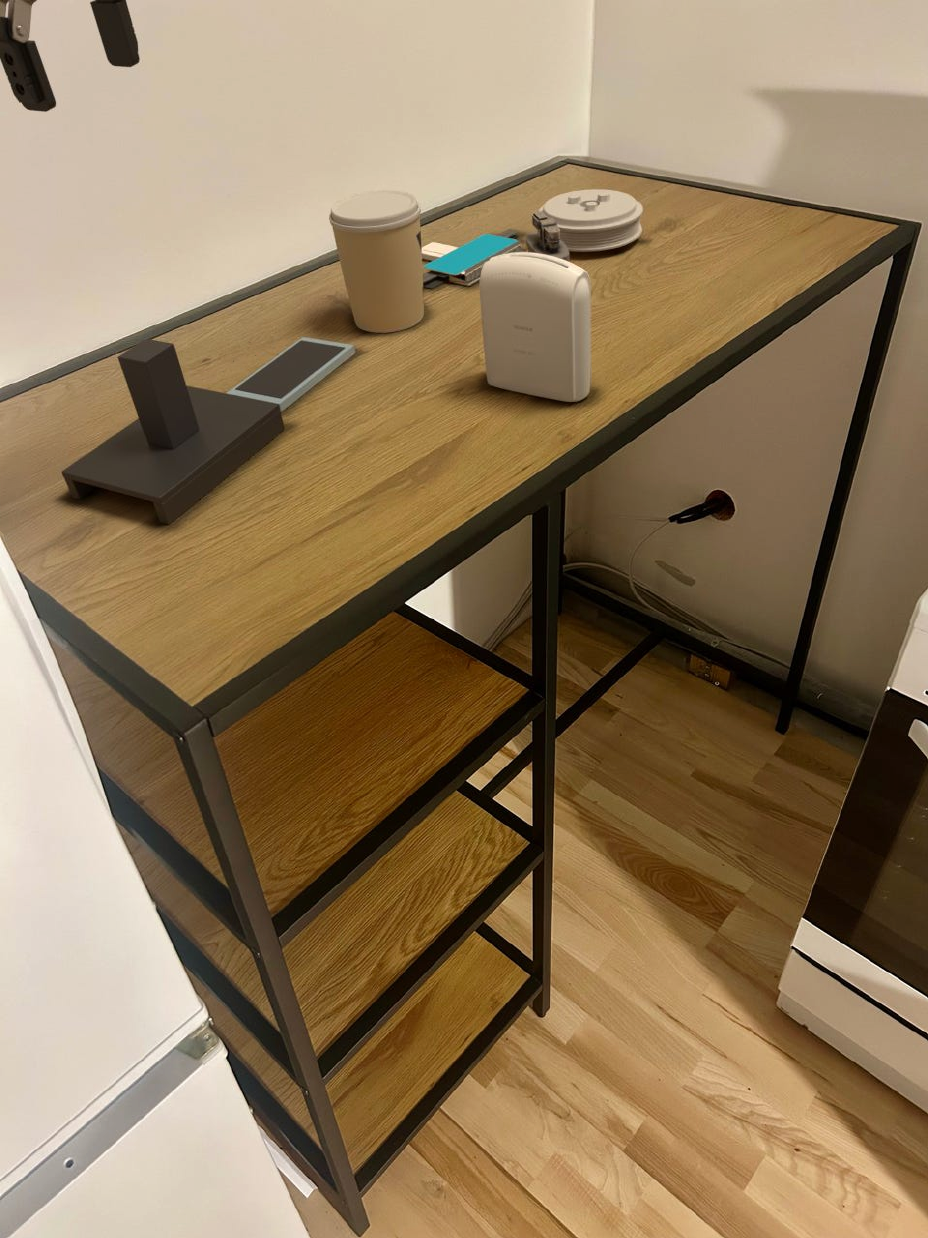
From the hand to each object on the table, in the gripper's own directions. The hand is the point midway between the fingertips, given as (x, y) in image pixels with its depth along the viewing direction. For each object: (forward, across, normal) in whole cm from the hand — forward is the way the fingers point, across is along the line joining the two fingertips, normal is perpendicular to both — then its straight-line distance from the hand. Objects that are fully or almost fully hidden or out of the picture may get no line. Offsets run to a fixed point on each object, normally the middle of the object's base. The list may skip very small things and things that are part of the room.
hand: (85, 86), depth 60 cm
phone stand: (+34, -48, +4) cm, 58 cm away
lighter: (+32, -35, +20) cm, 51 cm away
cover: (+30, +1, -2) cm, 30 cm away
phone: (+31, -16, -1) cm, 35 cm away
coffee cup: (+32, -31, +3) cm, 45 cm away
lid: (+34, -57, +17) cm, 68 cm away
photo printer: (+30, -20, +24) cm, 43 cm away
